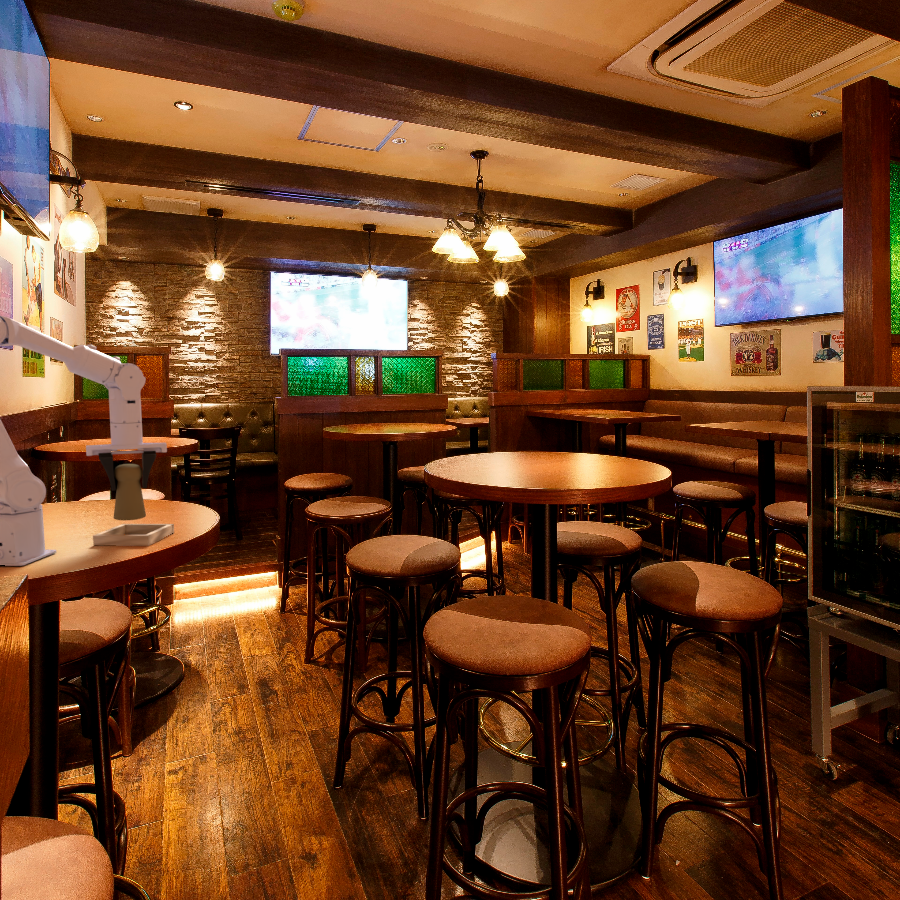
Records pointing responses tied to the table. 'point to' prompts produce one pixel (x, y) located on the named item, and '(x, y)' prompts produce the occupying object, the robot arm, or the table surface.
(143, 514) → the cork
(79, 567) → the table surface
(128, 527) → the open square wooden box
